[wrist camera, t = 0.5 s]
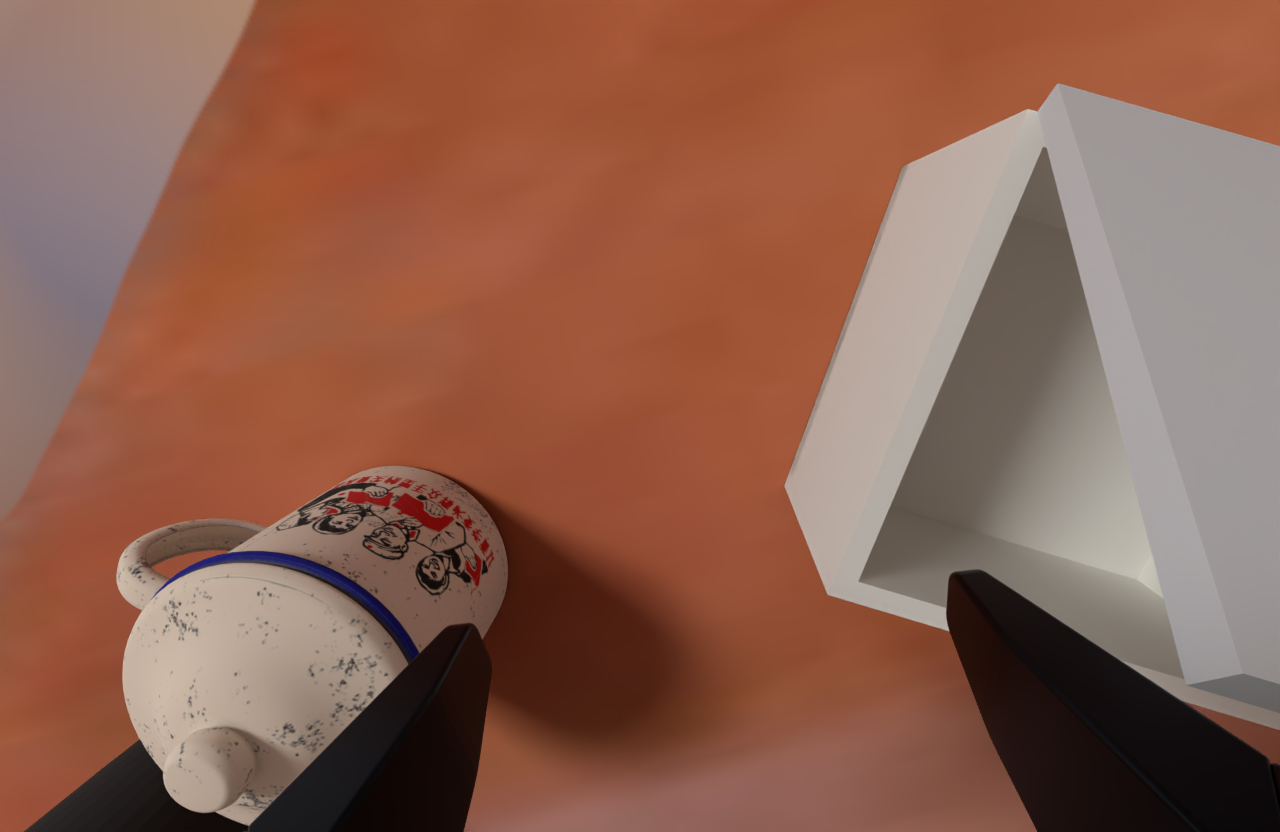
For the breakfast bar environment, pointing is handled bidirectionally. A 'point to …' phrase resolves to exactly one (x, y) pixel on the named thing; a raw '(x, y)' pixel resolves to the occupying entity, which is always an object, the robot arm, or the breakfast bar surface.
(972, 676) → the robot arm
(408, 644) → the teacup with lid
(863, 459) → the carton
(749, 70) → the breakfast bar surface
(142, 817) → the pen holder
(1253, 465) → the carton flap
